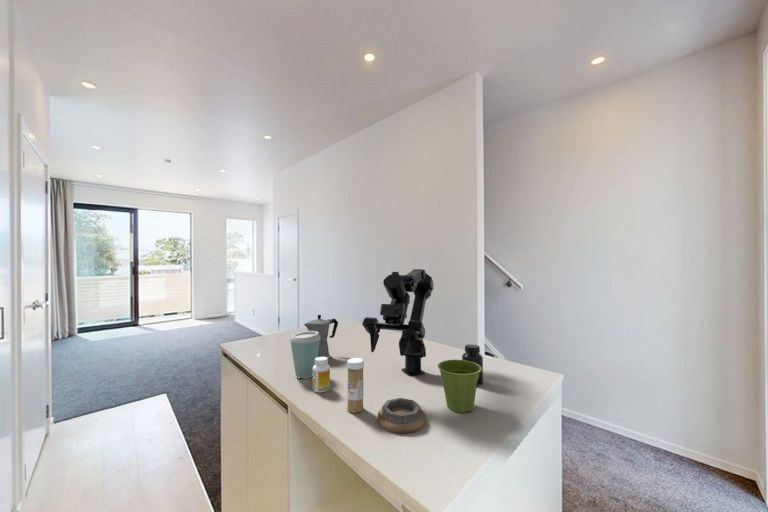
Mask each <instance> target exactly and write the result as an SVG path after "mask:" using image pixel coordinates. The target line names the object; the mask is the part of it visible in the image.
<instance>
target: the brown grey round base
mask: <svg viewBox="0 0 768 512" xmlns="http://www.w3.org/2000/svg"><path fill="white" fill-rule="evenodd" d="M377 424H378V426H380V427H381V428H382V429H383V430H384V431H387V432H390V433H392V434H399V435H400V434H401V435H402V434H412V433H415V432H419V431H420V430H421V429H422V428H424V427H425V424H426V413H425V412H424V410H423V409H421V405H419V404H418V403H417V402H416V401H415V400H413V399H410V398H409V399H408V398H405V397H404V398H403V397H398V398H393V399H388V400H386V402H384V404H383V405H382V407H381V408H380V409H379V410H378V412H377Z"/></svg>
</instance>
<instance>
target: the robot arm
mask: <svg viewBox="0 0 768 512" xmlns="http://www.w3.org/2000/svg"><path fill="white" fill-rule="evenodd" d="M383 287H384V288H385V291H386V293H387V295H388V298H391V300H390V303H381V304H380V309H379V310H380V311H379V315H380V316H381V317H382V319H383V321H385V322H379V320H378V318H377V317H370V316H369V317H367V316H366V317H364V319H362V322H361V325H362V326H363V327H364V329H365V331H366V333H368V334H369V338H370V351H371V353H374V352H375V350H376V347H377V345H378V340H379V338H380V334H379V333H381V332H380V331H381V330H387V331H398V332H402V333H401V337H400V339H399V340H398V341H399V342H398V347H399V348H398V349H399V356H401V357H404V358H405V359H404V366H405V367H403V368H401V371H402V372H404V373H405V374H406V375H407V376H410V377H411V376H416V375H422V374H425V371H424V370H423V369H422V359H423V358H425V357H426V356H427V351H426V350H427V348H426V345H425V342H424V339H425V336H426V329H425V325H424V324H423V318H424V313H425V307H426V302H427V300H429V298H430V297H431V296H432V292H433V291H434V281H433V278H432V277H431V276H430V275H429V274H428V273H427V272H426V269H423V268H422V269H421V268H417V269H416V268H414V269H412V270H411V271H409V272H407V274H400V272H399V271H392V272H391V274H389V275H387V276H386V277H385V278H383ZM409 293H413V295H414V299H413V303H412V309H411V314H410V317H409V318H410V319H409V321H407V322H408V323H407V324H406V323H405V320H406V319H407V318H408V315H407V313H408V308H409V304H410V303H411V299H410V298H411V296H410V294H409Z"/></svg>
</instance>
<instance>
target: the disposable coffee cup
mask: <svg viewBox="0 0 768 512" xmlns="http://www.w3.org/2000/svg"><path fill="white" fill-rule="evenodd" d="M320 339H321V338H320V336H319V332H317V331H309V330H307V331H301V332H297V333H294V334H292V336H290V337H289V342H290V348H291V353H292V360H293V366H294V373H295V376H297V377H299V378H298V379H300V378H306V379H310V378H309V377H311V378H313V377H312V376H313V366H314V365H316V364H315V358H317V357H318V349H319V342H320ZM297 377H296V378H297Z"/></svg>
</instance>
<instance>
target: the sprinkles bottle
mask: <svg viewBox="0 0 768 512" xmlns="http://www.w3.org/2000/svg"><path fill="white" fill-rule="evenodd" d="M364 367H365V361H364V359H363V358H360V357H352V358H349V359H348V360H347V362H346V368H347V388H346V389H347V394H346V395H347V407H346V410H347V411H348V413H352V414H358V413H360V412H362V411H363V410H364Z"/></svg>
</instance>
